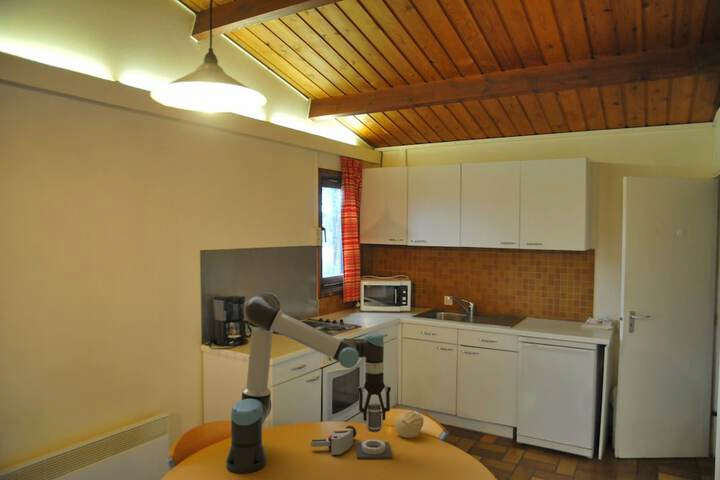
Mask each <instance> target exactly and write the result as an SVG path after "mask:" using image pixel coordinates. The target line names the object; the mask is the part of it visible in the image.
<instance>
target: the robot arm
mask: <svg viewBox="0 0 720 480" xmlns="http://www.w3.org/2000/svg"><path fill="white" fill-rule="evenodd" d="M244 314H245V318H246V320H247V321H248V327H249V328H251V335H250V348H249V357H248V369H247V379H246V386H245V387H244V388H243V389H242V392H241V399H240V401H239V400H238V401H237V402H235V403H234V404H233V405H232V407H231V412H230V418H231V419H230V420H231V421H230V422H231V423H230V424H231V427H230V429H231V431H230V433H231V436H230V437H231V439H230V440H231V443H230V448H229V451H228V454H227V457H226V460H225V461H226V462H225V465H226V469H227V470H228V471H230V472H233V473H237V474H249V473H253V472H256V471H258V470H259V471H260V470H261V469H263V468H264V467H265V466H266V465H267V454H266V452H265V447H264V445H263V424H264V423H265V421H266V419H267V418H268V417H269V415H270V413H271V410H272V400H271V395H272V394H271V393H272V392H271V389H270V388H269V375H270V366H271V365H270V364H271V363H270V362H271V356H272V355H271V352H272V343H273V334H274V333H273V332H276V333H277V334H280V335H281V336H284V337H286V338H288V339H290V340H292V341H294V342H296V343H299V344H301V345H302V346H305V347H307V348H310V349H311V350H313V351H316V352H318V353H320V354H322V355H325V356H326V357H329V358H330V359H333V360H334V361H337V362H339V364H340V365H341V367H343V368H346V369H350V368H353V367H355V366H356V365H357V363H358V362H359V360H360V359H359V358H363V359H364V358H365V361H364V364H365V366H364V367H365V368H364V369H365V373H364V376H365V380H364V381H365V382H364V385H359V386H358V387H357V388H358V389H357V390H358V393H359V394H358V395H359V396H358V397H359V398H358V399H359V402H358V404H359V405H358V410H359V412H360V413H363V415H362V417H363V421H364V422H365V421H366V422H365V428H366V430H368V405H369V404H370V401H371V398H372V396H374V395H375V396H378V399H379V405H380V408H381V411H380V425H381V428H380V430H383V429H384V428H383V427H384V424H383V423H384V422H383V421H386V413H387V412H390V409H391V406H390V405H391V403H390V401H391V400H390V399H391V398H390V397H391V396H390V393H391V390H392V389H391V386H390V385H386V384H385V383H384V374H385V373H384V356H385V355H384V352H385V351H384V346H385V345H384V336H383V335H382V334H381V333H377V332H373V333H372V332H371V333H367V334H366V335H365V337H364V338H336V337H334V336H332V335H330V334H328V333H326V332H323V331H322V330H319V329H318V328H315V327H313V326H310V325H309V324H307V323H305V322H302V321H300V320H298V319H296V318H294V317H292V316H291V315H288V314H285V313H284V312H283V310H282V309H281V302H280V299H279V297H278V296H276V295H275V294H274V293H271V292H268V291H267V292H260V293H258V294H256V295H255V296H253V297H252V298H250V299H249V300H248V301H247V303H246V304H245V306H244ZM383 390H384V391H385V404H384V401H383V398H382V394H381V393H382V392H383ZM364 391H366V392H367V395H366V399H365V403H363V397H364V396H363V392H364ZM363 404H364V406H363ZM384 405H385V406H386V407H385V406H384Z"/></svg>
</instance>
